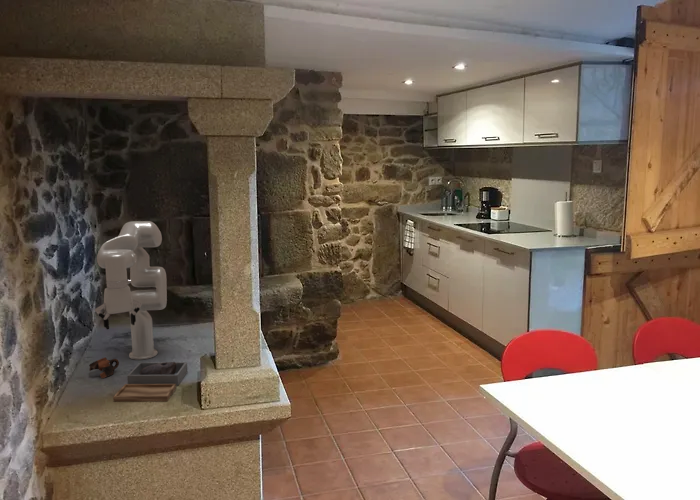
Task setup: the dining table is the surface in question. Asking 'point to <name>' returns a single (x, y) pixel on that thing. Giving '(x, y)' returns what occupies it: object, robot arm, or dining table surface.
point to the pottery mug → (104, 366)
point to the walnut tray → (144, 392)
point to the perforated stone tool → (160, 369)
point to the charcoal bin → (136, 378)
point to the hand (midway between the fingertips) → (120, 326)
